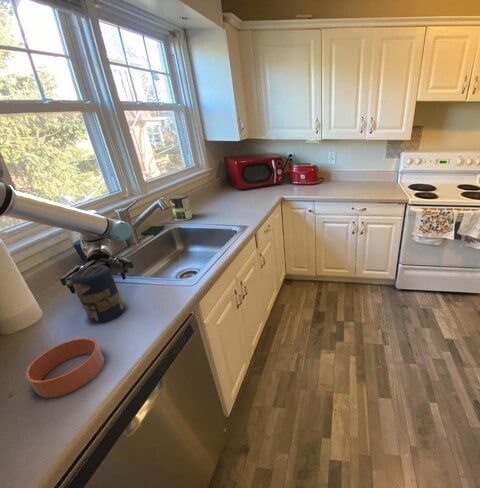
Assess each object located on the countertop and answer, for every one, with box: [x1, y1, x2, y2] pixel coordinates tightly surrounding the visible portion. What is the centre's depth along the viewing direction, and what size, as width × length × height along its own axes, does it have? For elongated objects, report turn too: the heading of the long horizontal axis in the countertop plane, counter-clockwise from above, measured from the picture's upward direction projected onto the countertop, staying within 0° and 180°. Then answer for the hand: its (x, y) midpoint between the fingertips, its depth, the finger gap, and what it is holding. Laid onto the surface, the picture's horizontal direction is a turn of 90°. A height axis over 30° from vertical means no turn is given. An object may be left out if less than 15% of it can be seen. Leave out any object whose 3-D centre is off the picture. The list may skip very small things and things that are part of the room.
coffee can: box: [168, 193, 193, 222], centre depth 171 cm, size 10×10×14 cm
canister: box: [71, 265, 125, 324], centre depth 88 cm, size 10×10×18 cm
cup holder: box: [25, 337, 105, 398], centre depth 70 cm, size 13×13×6 cm
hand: (98, 282), depth 91 cm, fingers open, 13 cm apart
